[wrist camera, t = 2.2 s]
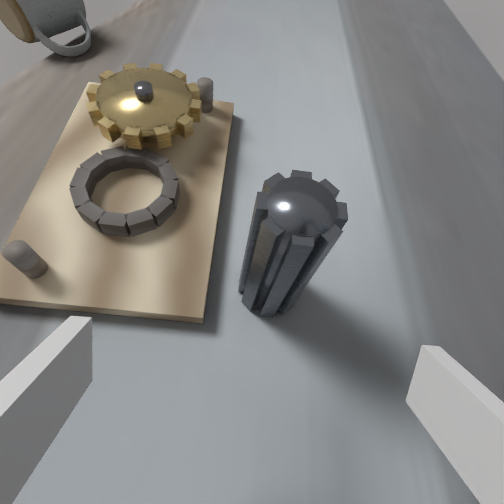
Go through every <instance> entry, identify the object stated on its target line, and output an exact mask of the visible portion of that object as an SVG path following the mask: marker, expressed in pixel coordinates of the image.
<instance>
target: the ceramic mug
mask: <svg viewBox="0 0 504 504" xmlns="http://www.w3.org/2000/svg"><path fill="white" fill-rule="evenodd" d="M0 20H1V21H2V23H3V24H4V25H5V26H6V27H7V28H8V29H9V31H10V32H12V34H14V35H15V36H16V37H17V38H18V39H20V40H22V41H24V42H27V43H33V42H39V41H41V42H42V43H43V44H44V45H45V46H46V47H47V48H49V49H50V50H52V51H54V52H55V53H57V54H59V55H63V56H72V57H74V56H79V55H81V54H83V53H85V52H86V51H87V50H88V49H89V48H90V45H91V33H90V28H89V26H88V24H87V21H86V11H85V6H84V2H83V0H0ZM80 25H82V26H83V28H84V30H85V32H86V38H85V40H84V42H83V43H81V44H79V45H76V46H62V45H59V44H56V43H55V42H53V41H51V40H50V39H49V38H50V37H52V36H54V35H56V34H59V33H62V32H65V31H67V30H70V29H73V28H75V27H78V26H80Z"/></svg>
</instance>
